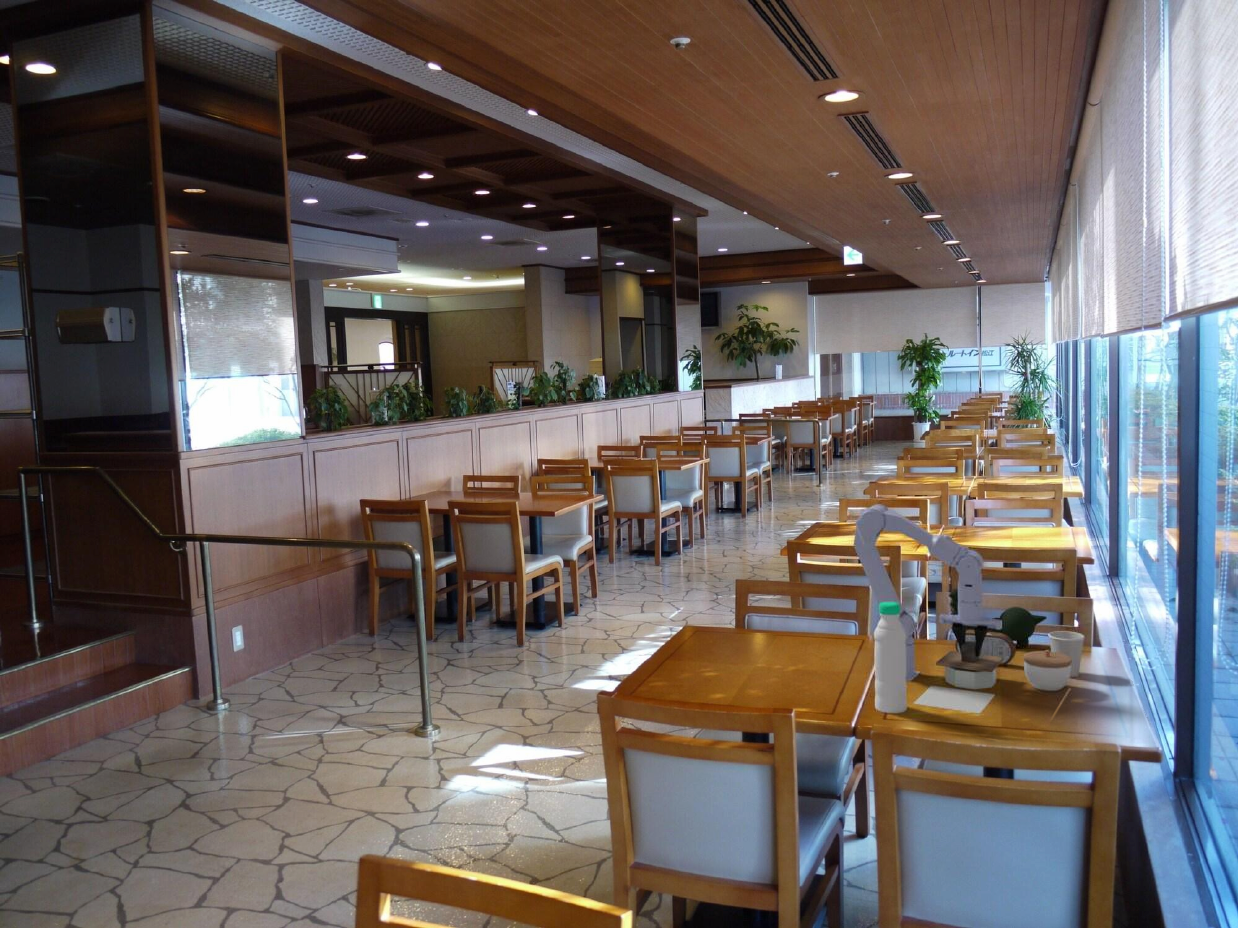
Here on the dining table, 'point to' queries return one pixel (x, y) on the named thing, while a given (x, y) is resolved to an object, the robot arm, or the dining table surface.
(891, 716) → the dining table surface
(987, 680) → the bowl
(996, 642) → the tin
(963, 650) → the lid
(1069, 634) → the dixie cup
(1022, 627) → the toy figurine
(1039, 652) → the lidded jar
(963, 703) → the mat
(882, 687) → the water bottle
